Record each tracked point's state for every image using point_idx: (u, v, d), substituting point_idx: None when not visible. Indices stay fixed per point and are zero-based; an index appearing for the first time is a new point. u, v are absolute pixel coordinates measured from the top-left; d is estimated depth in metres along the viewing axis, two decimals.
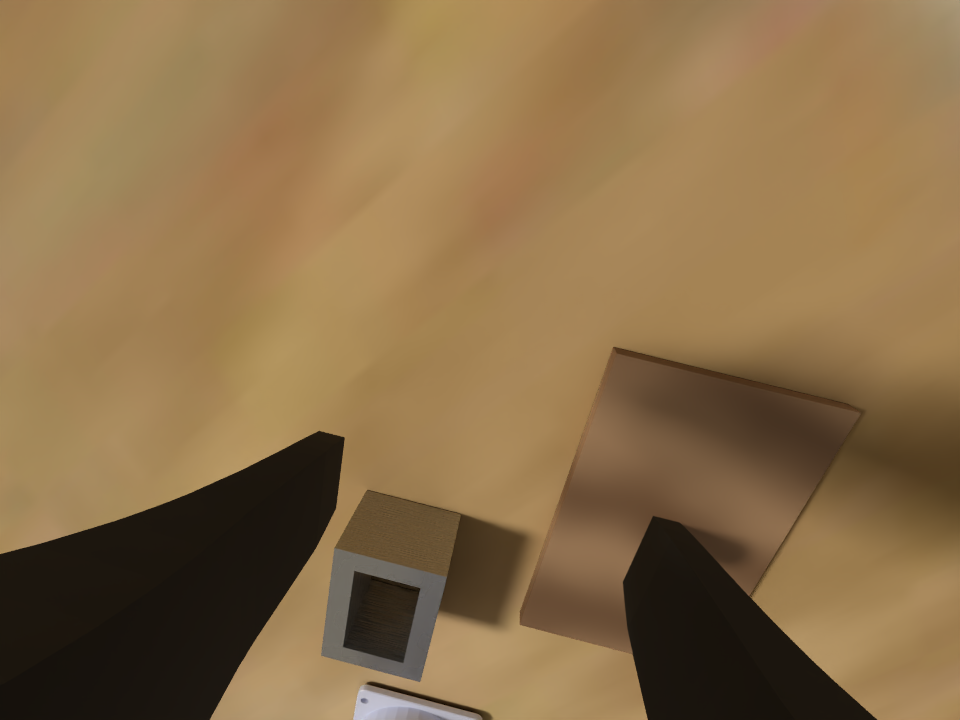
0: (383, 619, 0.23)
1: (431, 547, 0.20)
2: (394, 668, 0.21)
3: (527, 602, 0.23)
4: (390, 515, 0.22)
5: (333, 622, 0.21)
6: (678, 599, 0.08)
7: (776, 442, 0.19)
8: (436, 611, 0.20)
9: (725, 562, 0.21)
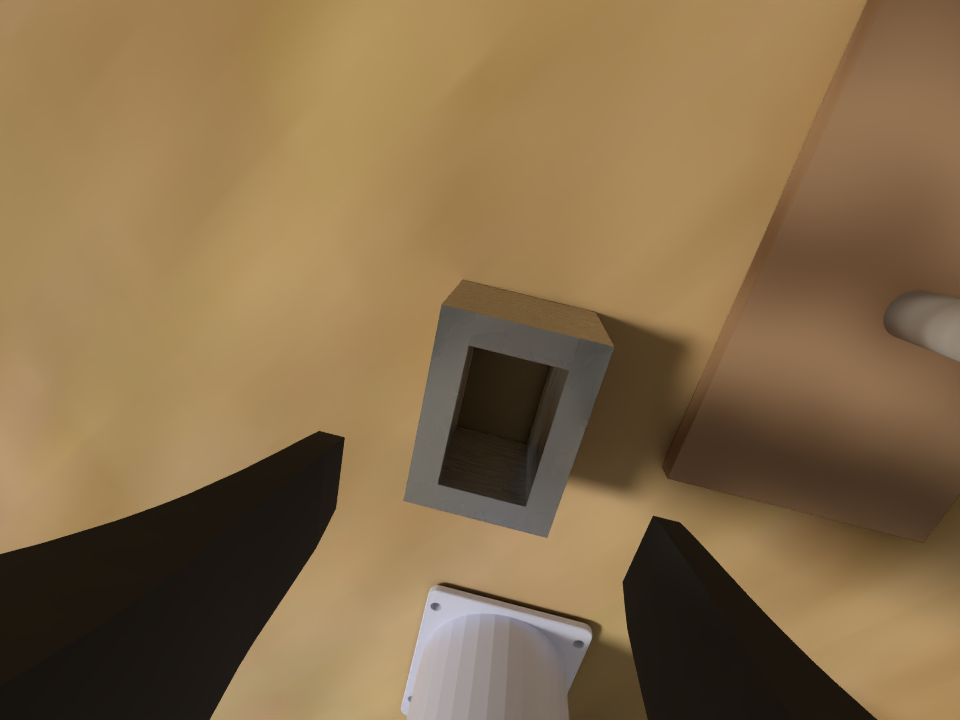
0: (484, 463, 0.16)
1: (575, 325, 0.14)
2: (511, 516, 0.15)
3: (682, 442, 0.17)
4: (504, 298, 0.15)
5: (427, 442, 0.14)
6: (678, 599, 0.08)
7: None
8: (588, 411, 0.13)
9: None
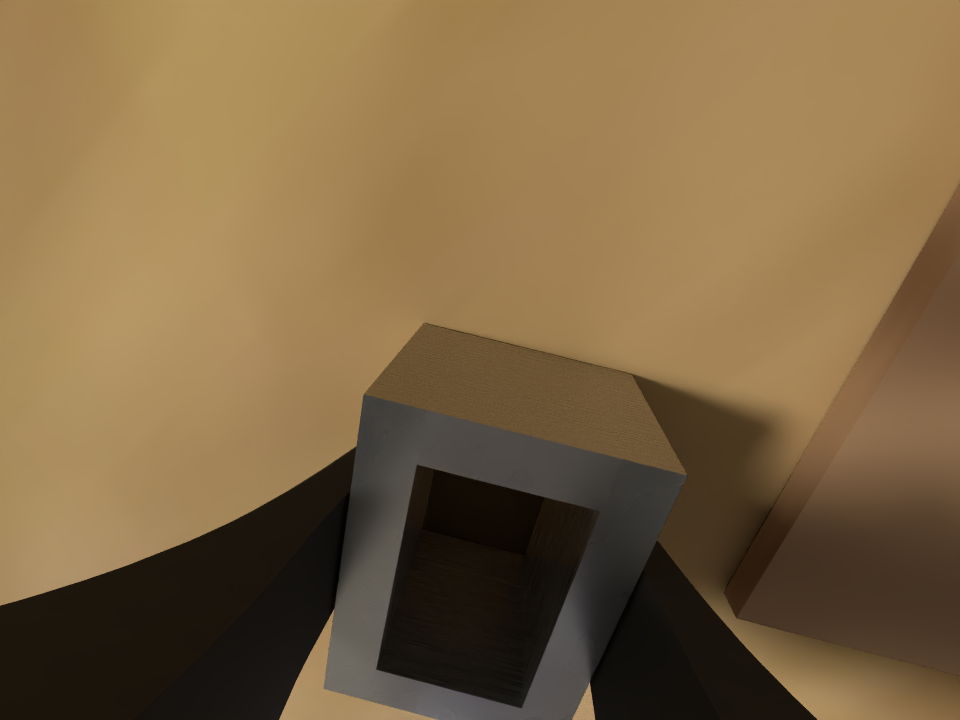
0: (458, 606, 0.11)
1: (607, 416, 0.08)
2: None
3: (763, 570, 0.11)
4: (487, 359, 0.09)
5: (354, 609, 0.08)
6: None
7: None
8: (634, 578, 0.07)
9: None
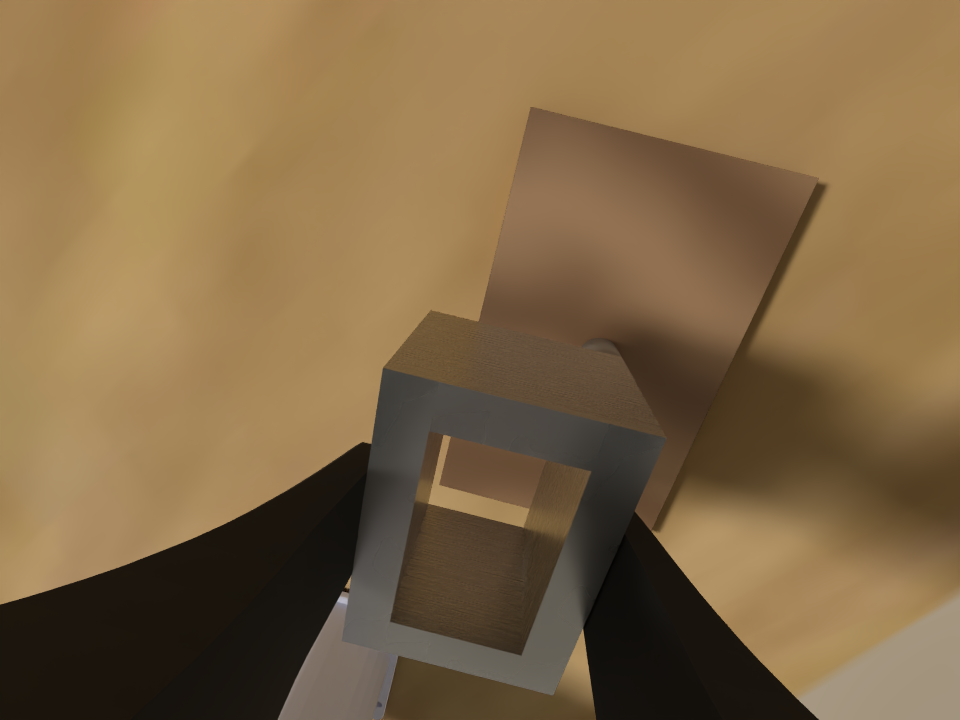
0: (463, 570, 0.12)
1: (598, 390, 0.09)
2: (500, 667, 0.10)
3: (446, 455, 0.20)
4: (490, 342, 0.10)
5: (371, 565, 0.09)
6: (623, 584, 0.08)
7: (721, 223, 0.16)
8: (621, 532, 0.08)
9: (668, 392, 0.18)
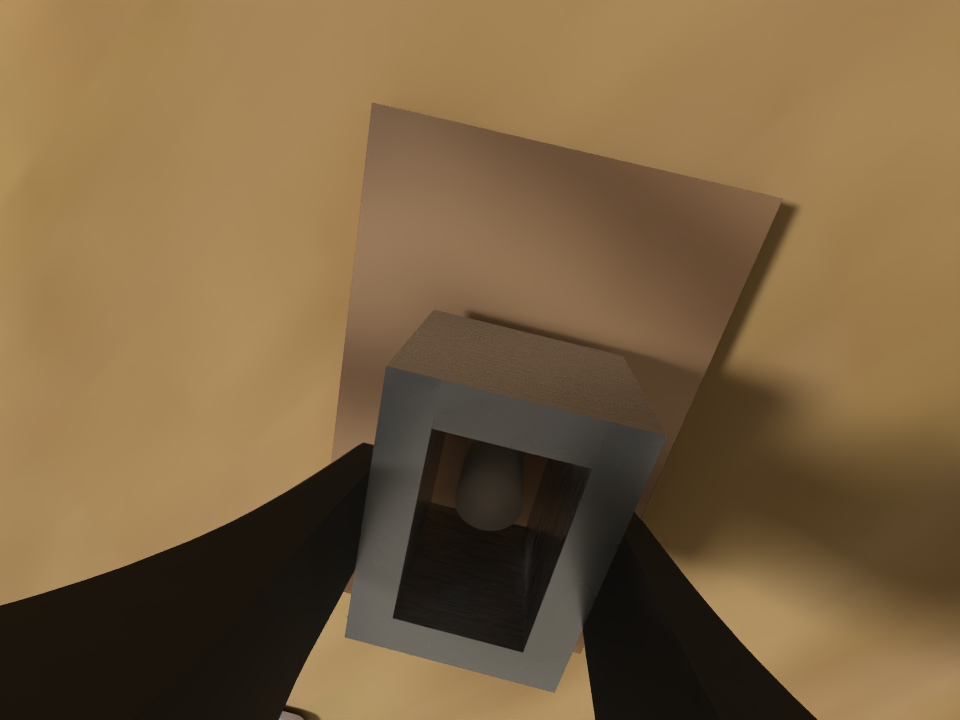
0: (465, 567, 0.12)
1: (599, 389, 0.09)
2: (501, 664, 0.10)
3: None
4: (492, 340, 0.10)
5: (374, 562, 0.09)
6: (622, 584, 0.08)
7: (648, 262, 0.11)
8: (622, 529, 0.08)
9: None
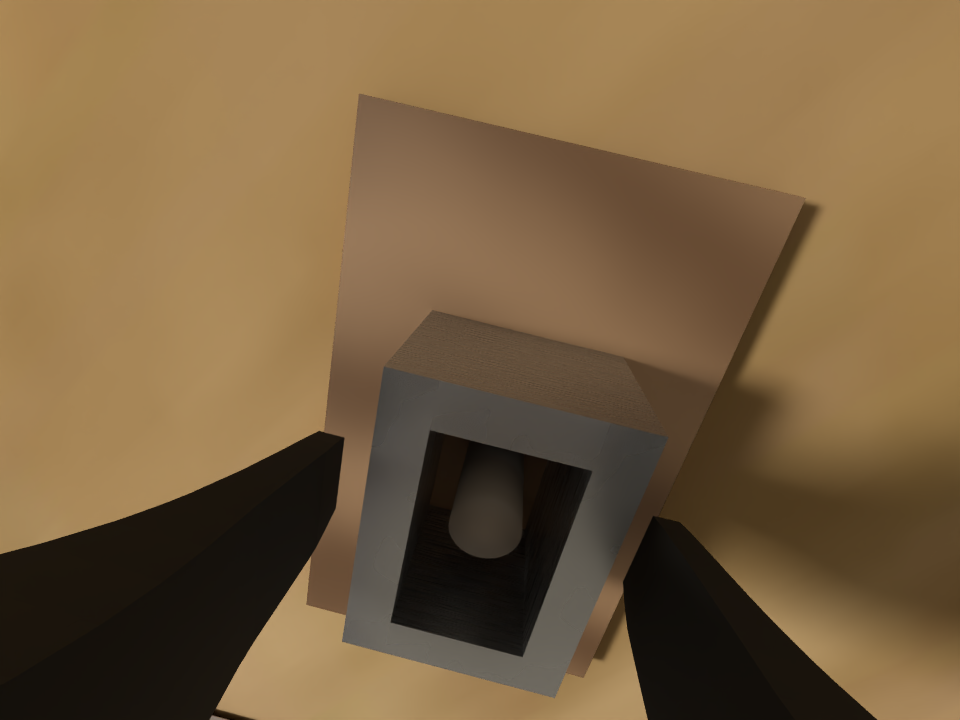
0: (464, 571, 0.12)
1: (599, 390, 0.09)
2: (501, 669, 0.10)
3: (311, 569, 0.15)
4: (491, 341, 0.10)
5: (372, 565, 0.09)
6: (678, 599, 0.08)
7: (658, 267, 0.10)
8: (622, 532, 0.08)
9: None
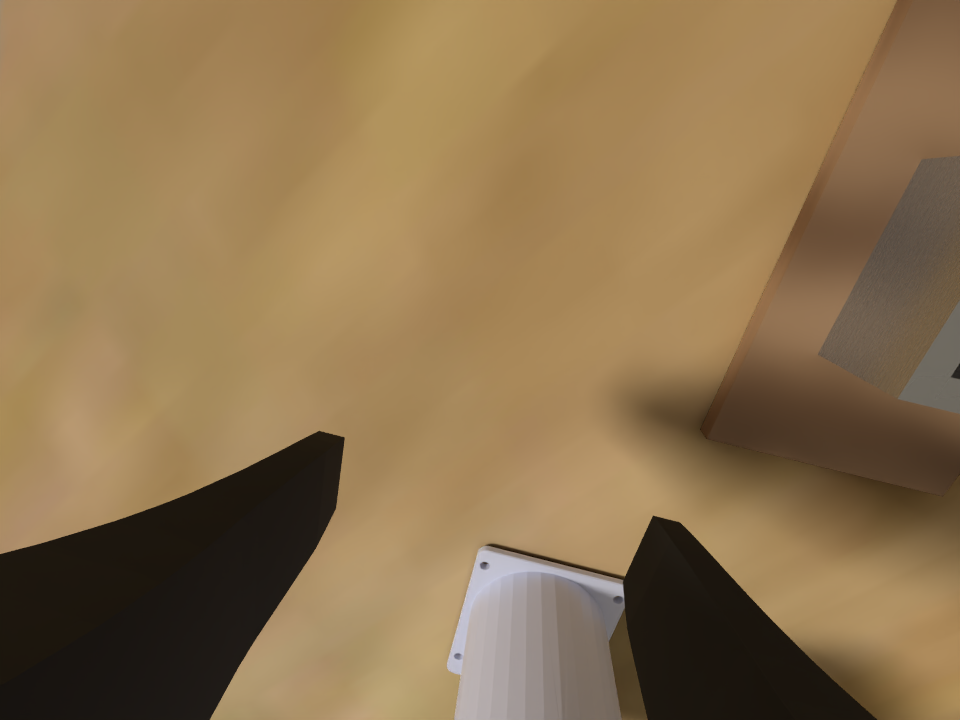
0: None
1: None
2: None
3: (722, 405, 0.18)
4: None
5: None
6: (678, 598, 0.08)
7: None
8: None
9: None
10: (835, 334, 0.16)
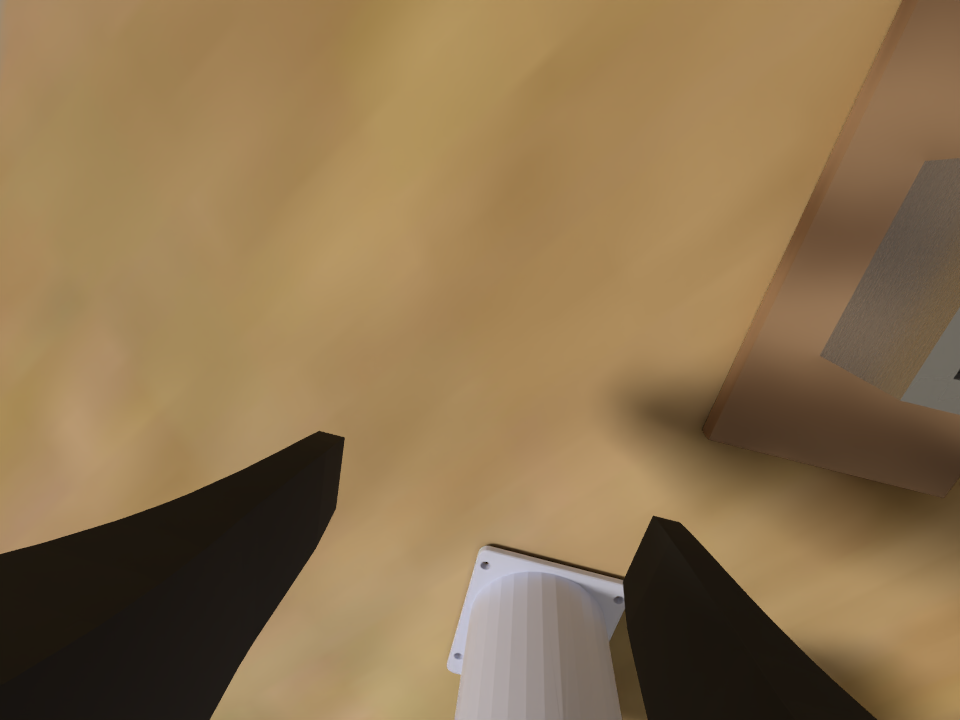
0: None
1: None
2: None
3: (723, 406, 0.18)
4: None
5: None
6: (678, 599, 0.08)
7: None
8: None
9: None
10: (837, 335, 0.16)
